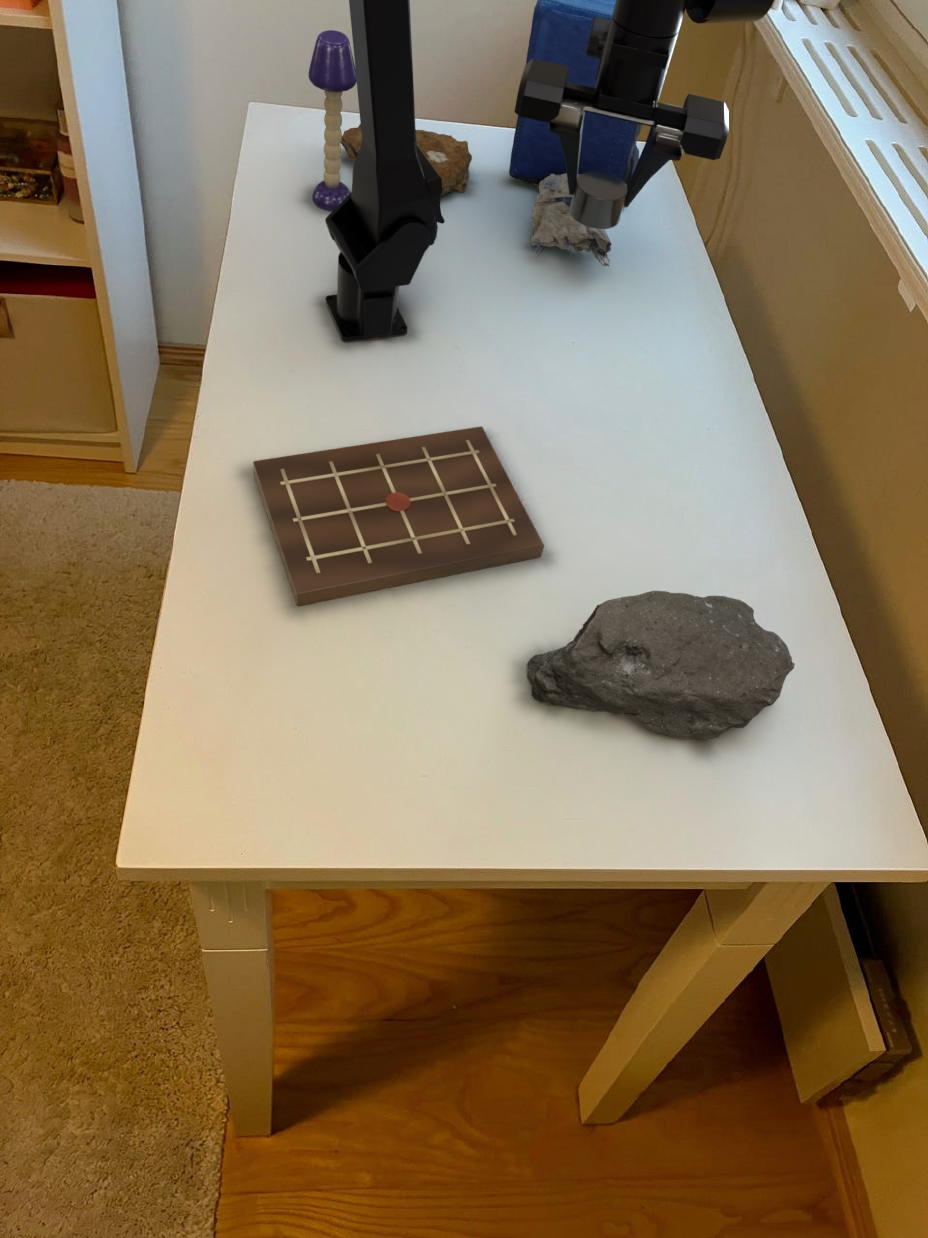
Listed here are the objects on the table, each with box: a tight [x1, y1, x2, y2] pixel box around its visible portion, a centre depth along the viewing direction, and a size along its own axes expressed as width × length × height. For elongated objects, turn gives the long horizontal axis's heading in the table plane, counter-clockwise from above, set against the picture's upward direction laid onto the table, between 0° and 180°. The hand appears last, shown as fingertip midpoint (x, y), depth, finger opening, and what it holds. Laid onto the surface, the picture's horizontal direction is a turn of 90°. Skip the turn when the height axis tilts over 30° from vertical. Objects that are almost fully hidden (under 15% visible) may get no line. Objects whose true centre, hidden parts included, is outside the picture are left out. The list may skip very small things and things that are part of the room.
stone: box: [526, 590, 795, 740], centre depth 68 cm, size 18×9×10 cm
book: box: [508, 0, 644, 187], centre depth 103 cm, size 14×5×20 cm, turn 75°
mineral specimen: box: [530, 173, 612, 267], centre depth 104 cm, size 15×8×4 cm, turn 178°
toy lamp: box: [308, 29, 357, 212], centre depth 97 cm, size 5×5×17 cm
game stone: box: [570, 171, 628, 230], centre depth 92 cm, size 5×5×3 cm
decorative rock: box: [340, 123, 473, 196], centre depth 108 cm, size 11×4×15 cm
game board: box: [252, 425, 545, 607], centre depth 77 cm, size 14×20×2 cm
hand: (598, 198), depth 92 cm, fingers closed on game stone, 5 cm apart
